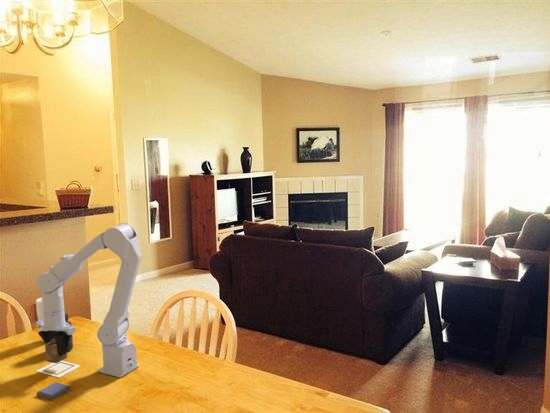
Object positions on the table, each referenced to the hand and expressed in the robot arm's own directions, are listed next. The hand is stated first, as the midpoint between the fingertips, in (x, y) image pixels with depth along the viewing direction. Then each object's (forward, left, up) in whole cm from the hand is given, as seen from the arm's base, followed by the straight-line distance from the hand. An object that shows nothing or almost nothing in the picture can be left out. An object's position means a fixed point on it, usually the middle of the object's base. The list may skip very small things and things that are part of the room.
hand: (57, 353), depth 140 cm
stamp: (0, 0, -2) cm, 2 cm away
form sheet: (0, 0, -5) cm, 5 cm away
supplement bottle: (+10, -10, -5) cm, 15 cm away
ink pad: (-11, +10, -5) cm, 16 cm away
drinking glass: (+21, -14, -5) cm, 26 cm away
